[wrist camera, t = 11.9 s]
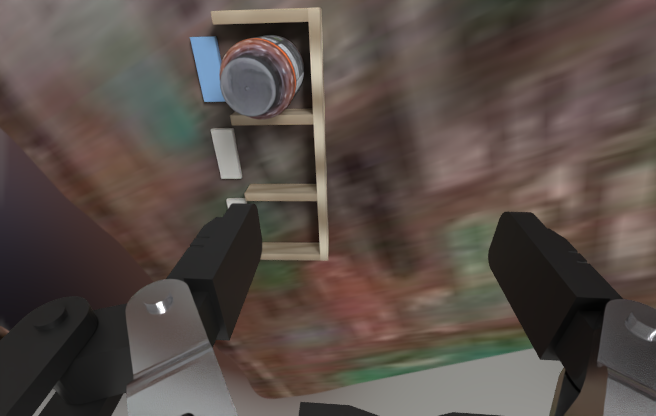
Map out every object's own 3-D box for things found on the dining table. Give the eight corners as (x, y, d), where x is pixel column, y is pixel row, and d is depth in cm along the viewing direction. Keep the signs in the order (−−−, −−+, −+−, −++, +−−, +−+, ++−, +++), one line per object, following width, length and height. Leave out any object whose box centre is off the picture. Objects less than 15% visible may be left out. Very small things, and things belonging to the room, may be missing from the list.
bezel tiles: (192, 37, 30) (189, 37, 30) (216, 36, 30) (214, 36, 30) (236, 236, 43) (234, 238, 42) (253, 236, 43) (252, 238, 42)
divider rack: (220, 11, 29) (210, 11, 27) (321, 8, 29) (319, 7, 27) (261, 247, 44) (256, 259, 41) (328, 248, 43) (328, 260, 41)
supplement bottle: (259, 104, 33) (224, 138, 24) (237, 43, 31) (188, 54, 21) (312, 90, 32) (298, 120, 23) (295, 26, 30) (271, 29, 20)
